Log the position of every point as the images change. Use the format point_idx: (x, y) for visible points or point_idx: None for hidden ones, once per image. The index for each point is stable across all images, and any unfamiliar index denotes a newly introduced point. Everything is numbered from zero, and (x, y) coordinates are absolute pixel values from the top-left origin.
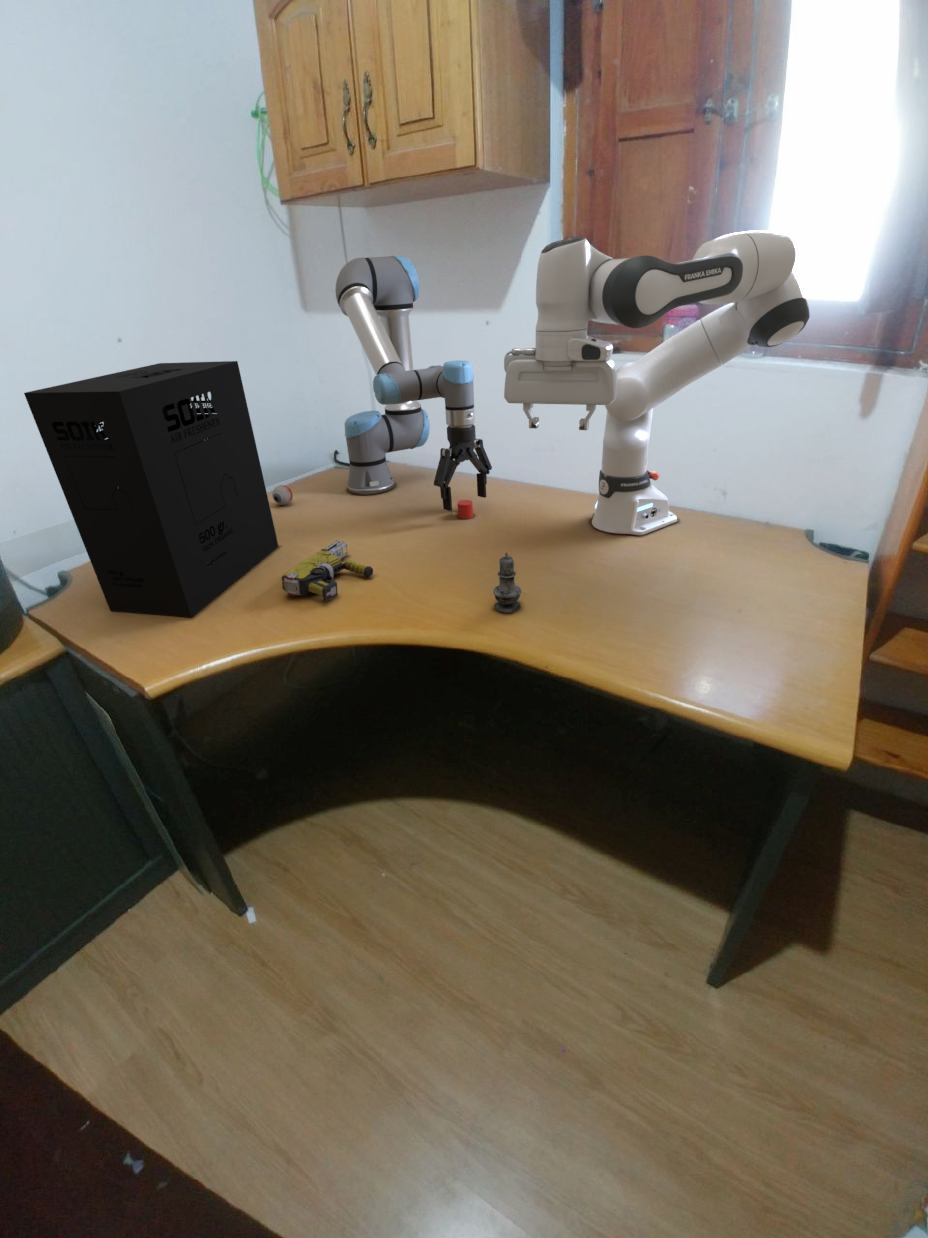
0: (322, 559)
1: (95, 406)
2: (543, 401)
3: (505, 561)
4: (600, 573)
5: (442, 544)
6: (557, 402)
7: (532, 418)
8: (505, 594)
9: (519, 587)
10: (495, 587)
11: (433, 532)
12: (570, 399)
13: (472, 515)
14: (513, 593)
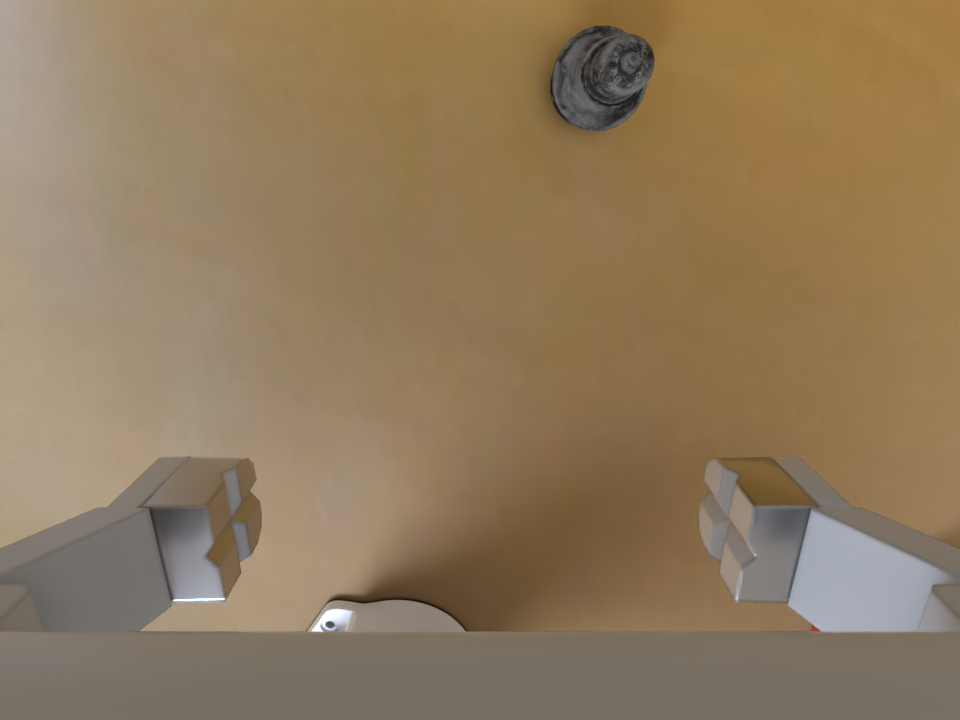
0: None
1: None
2: (773, 647)
3: (627, 37)
4: (379, 366)
5: (870, 439)
6: (471, 641)
7: (810, 520)
8: (597, 39)
9: (565, 113)
10: (642, 90)
11: (913, 509)
12: (169, 694)
13: (815, 628)
14: (573, 54)
